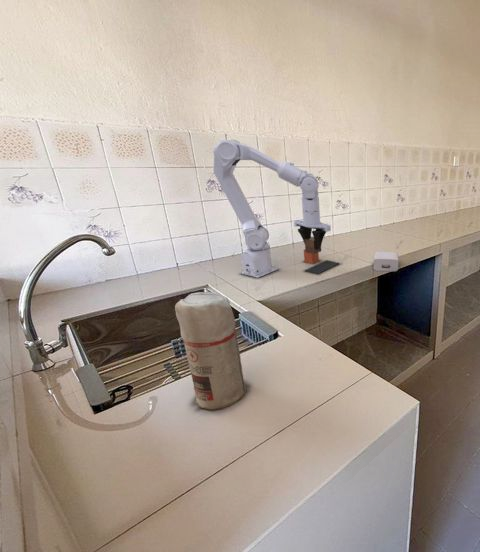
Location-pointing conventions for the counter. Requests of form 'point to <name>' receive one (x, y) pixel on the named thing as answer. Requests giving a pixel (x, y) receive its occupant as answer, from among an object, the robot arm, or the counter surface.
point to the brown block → (311, 246)
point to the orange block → (311, 257)
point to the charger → (385, 261)
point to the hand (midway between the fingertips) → (313, 248)
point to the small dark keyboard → (322, 267)
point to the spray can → (211, 349)
